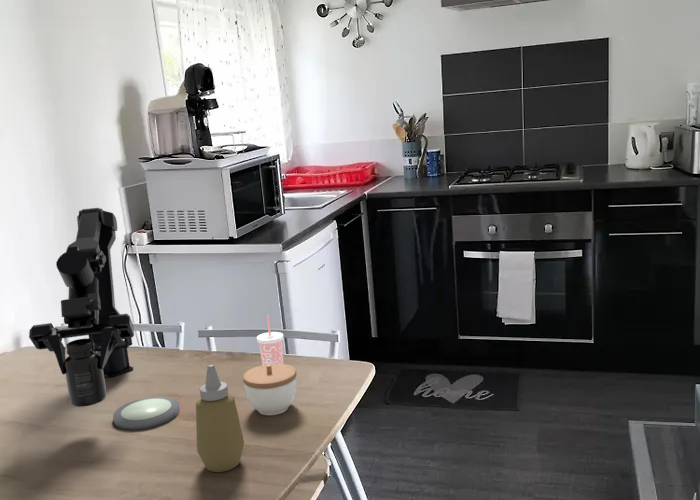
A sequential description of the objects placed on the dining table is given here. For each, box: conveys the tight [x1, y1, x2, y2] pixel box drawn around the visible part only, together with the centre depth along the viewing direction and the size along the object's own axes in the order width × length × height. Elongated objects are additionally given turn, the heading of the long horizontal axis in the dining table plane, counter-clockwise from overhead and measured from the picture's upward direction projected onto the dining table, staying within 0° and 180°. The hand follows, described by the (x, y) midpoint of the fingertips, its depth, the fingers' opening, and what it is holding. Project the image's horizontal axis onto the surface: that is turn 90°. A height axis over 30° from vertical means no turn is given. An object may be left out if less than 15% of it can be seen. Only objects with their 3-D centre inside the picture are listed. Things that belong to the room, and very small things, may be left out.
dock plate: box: [112, 396, 180, 431], centre depth 141 cm, size 13×13×1 cm
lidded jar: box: [242, 363, 298, 416], centre depth 138 cm, size 11×11×9 cm
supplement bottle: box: [64, 338, 108, 408], centre depth 133 cm, size 7×7×12 cm
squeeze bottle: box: [195, 364, 245, 473], centre depth 116 cm, size 8×8×18 cm
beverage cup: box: [256, 314, 284, 365], centre depth 157 cm, size 6×6×14 cm
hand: (82, 370), depth 131 cm, fingers closed on supplement bottle, 7 cm apart
